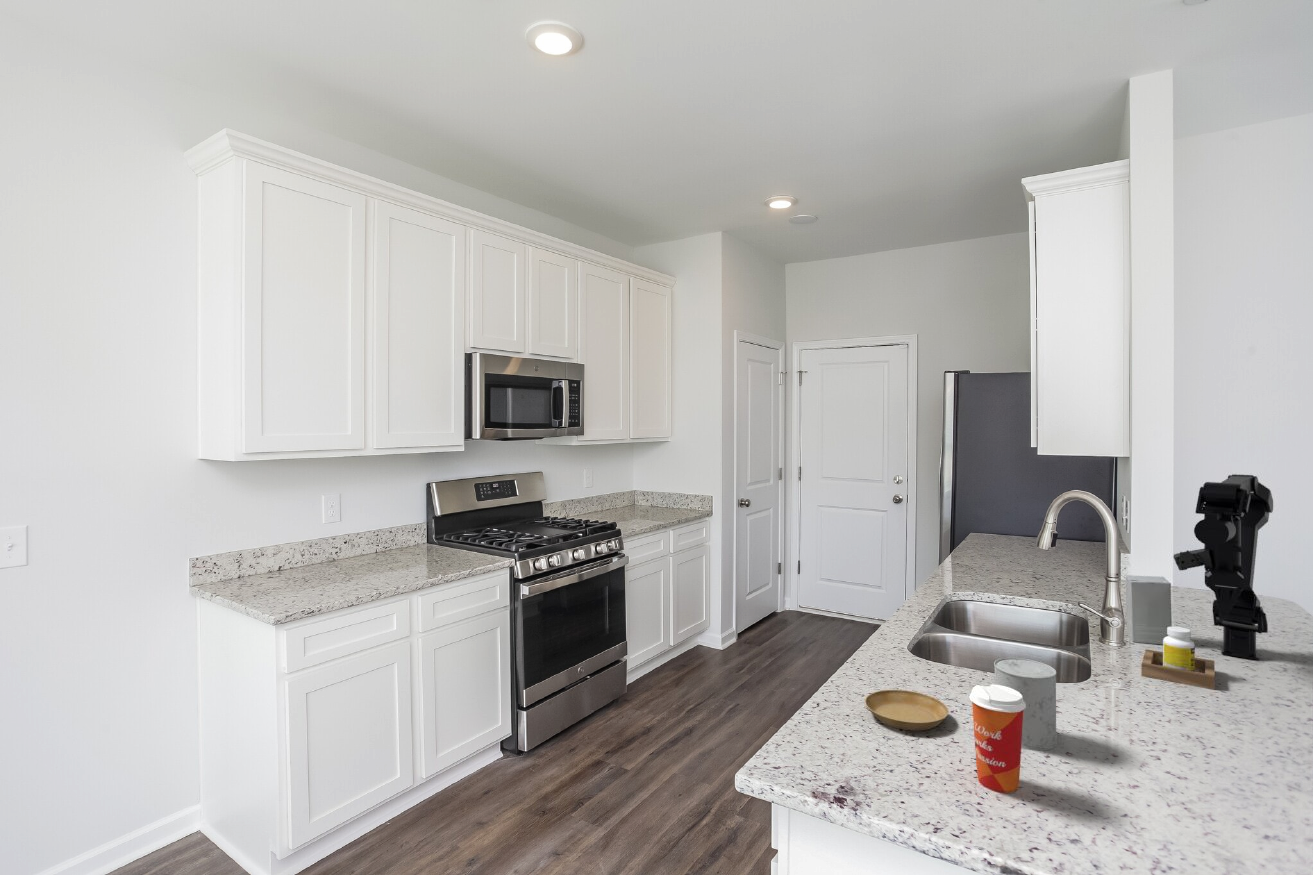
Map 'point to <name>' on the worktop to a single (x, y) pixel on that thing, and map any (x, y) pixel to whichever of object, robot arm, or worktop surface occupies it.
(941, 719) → the plant saucer
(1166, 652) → the supplement bottle
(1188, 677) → the brown wooden frame
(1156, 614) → the skincare box
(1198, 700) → the worktop surface
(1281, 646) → the worktop surface
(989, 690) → the paper cup
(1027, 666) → the grey concrete cylinder
